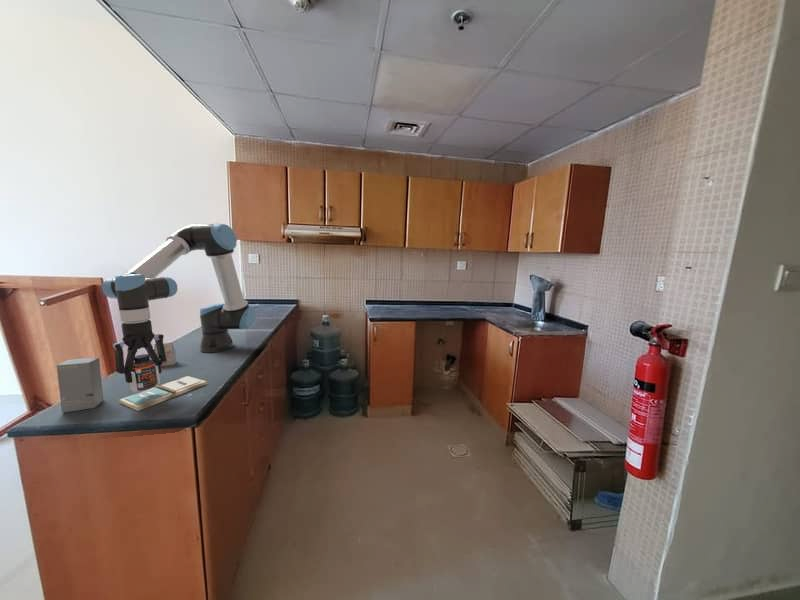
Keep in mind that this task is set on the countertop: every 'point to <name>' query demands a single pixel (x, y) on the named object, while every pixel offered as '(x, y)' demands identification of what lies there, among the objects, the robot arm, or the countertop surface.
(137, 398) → the teal pad
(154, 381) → the supplement bottle
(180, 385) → the cream pad
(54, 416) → the countertop surface
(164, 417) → the countertop surface
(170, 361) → the white product box
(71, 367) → the skincare box
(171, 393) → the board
